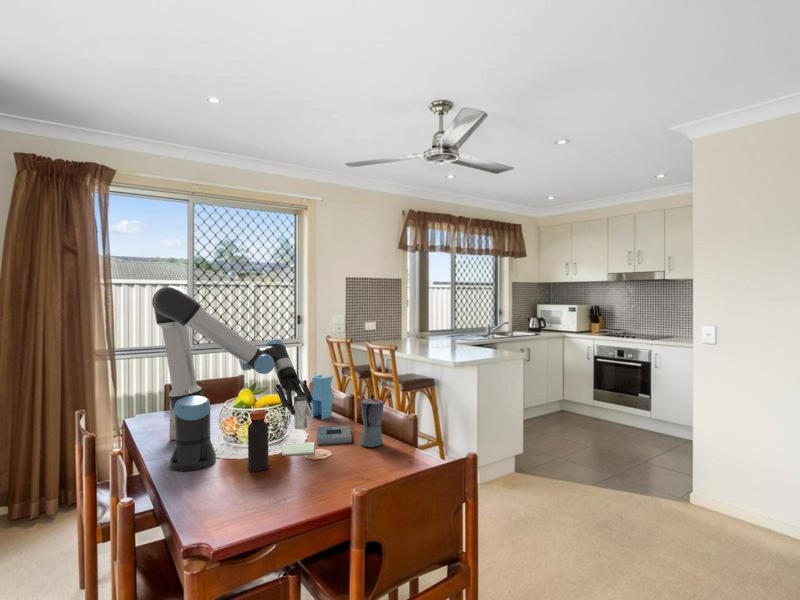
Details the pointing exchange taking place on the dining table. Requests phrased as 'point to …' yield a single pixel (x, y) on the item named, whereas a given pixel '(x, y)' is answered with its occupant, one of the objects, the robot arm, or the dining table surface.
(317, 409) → the blue notched block
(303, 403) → the silver canister
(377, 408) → the moka pot
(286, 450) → the mat
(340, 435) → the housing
